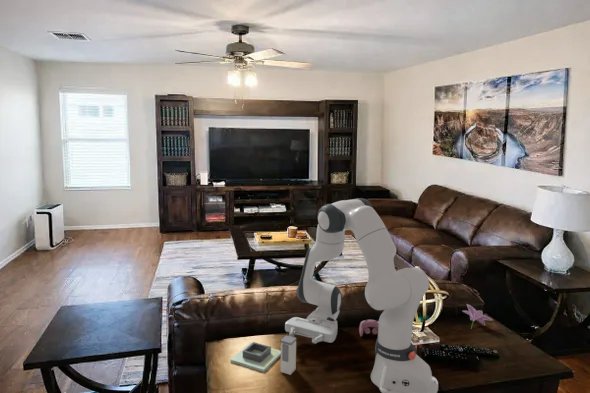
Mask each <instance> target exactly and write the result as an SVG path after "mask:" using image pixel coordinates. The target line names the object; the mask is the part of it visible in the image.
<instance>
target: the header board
mask: <svg viewBox="0 0 590 393" xmlns="http://www.w3.org/2000/svg"><path fill="white" fill-rule="evenodd" d="M279 358H281V349H280V350H279V349H277V348H273V347H271V346H268V345H266V344H262V343H258V342H254V341H253V342H252V341H251V342H249V343H248V344H247V345H246V346H244V347H243V348H241V350H240V351H238V352H237V353H236V354H235V355H234V356H232V357H231V358H230V363H232V362H233V363H232V364H236V363H237V365H239V364H240V365H239V366H242V365H243V367H245V366H246V367H245V368H248V367H249V369H252V370H255V371H259V372H262V373H265V372H266V371H267V370H268V369H269V368H270V366H271V365H273V364H274V363H275V362H276V360H278V359H279Z"/></svg>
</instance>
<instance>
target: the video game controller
mask: <svg viewBox="0 0 590 393" xmlns="http://www.w3.org/2000/svg"><path fill="white" fill-rule="evenodd" d="M378 326H379V320H377V319H376V320H375V319H365V320H362V321H360V323H359V327H358V331H359V336H360V337H363V335H364V334H367V335H368V334H370V333H372V334H373V335H378ZM370 328H373V329H372V332H371V329H370Z"/></svg>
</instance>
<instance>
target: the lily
mask: <svg viewBox="0 0 590 393" xmlns="http://www.w3.org/2000/svg"><path fill="white" fill-rule="evenodd" d="M466 307H467V309H468V310H462V312H463V313H464V314H467V315H469V319H470V321H472V323H471V328H470V329H471V330H472V329H473V324H474V322H475V321H478V322H479V323H481V324H482V325H483V326H486V323H485V321H492V322H493V321H494V319H492V318H491V317H489V316H488V315H485V314H483V310H476V308H474V307H473V306H472V305H470V304H468V303H466Z"/></svg>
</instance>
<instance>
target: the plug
mask: <svg viewBox="0 0 590 393" xmlns="http://www.w3.org/2000/svg"><path fill="white" fill-rule="evenodd" d="M280 351H281V356H280V367H279V368H280V371H279V372H280V373H282V374H283V373H284V374H286V375H289V376H291V375H292V374H293V373H294V372H295V371H296V366H297V364H296V361H297V337H295V336H294V337H291V336H289V335H288V334H287V335H284V337H282V338H281V339H280Z"/></svg>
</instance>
